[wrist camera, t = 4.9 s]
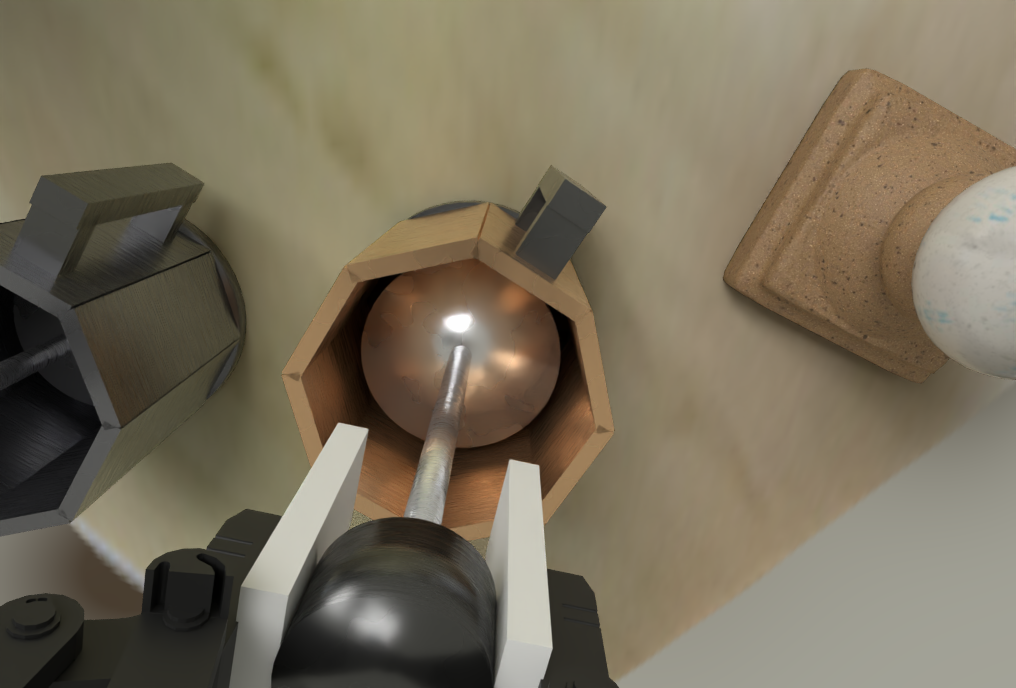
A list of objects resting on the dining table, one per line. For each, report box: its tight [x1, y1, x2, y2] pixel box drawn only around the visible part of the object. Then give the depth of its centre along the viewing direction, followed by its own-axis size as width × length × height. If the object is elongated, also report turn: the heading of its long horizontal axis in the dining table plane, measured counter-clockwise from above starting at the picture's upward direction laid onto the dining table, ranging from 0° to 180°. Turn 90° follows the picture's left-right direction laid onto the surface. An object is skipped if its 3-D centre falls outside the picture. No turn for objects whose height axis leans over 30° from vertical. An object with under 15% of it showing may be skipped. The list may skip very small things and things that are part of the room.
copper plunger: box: [271, 257, 560, 688], centre depth 20 cm, size 8×8×19 cm
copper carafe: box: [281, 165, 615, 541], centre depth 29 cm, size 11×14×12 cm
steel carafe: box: [0, 163, 246, 536], centre depth 29 cm, size 11×14×12 cm
